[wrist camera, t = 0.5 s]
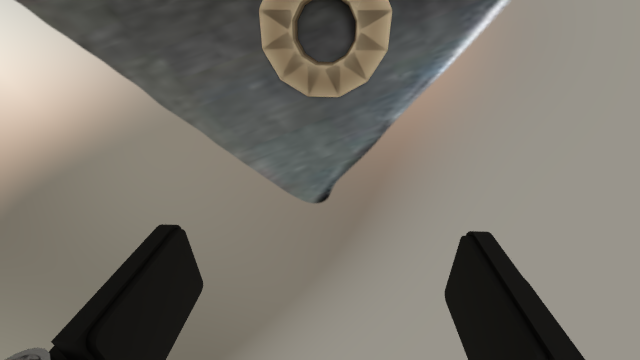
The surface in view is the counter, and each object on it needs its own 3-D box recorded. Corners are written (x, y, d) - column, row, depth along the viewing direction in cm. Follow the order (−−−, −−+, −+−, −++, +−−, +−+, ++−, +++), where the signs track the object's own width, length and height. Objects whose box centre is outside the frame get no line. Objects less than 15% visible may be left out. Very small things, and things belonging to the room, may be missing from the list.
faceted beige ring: (263, -43, 30) (253, -53, 26) (392, -44, 29) (399, -55, 25) (273, 89, 36) (266, 95, 33) (377, 91, 36) (382, 98, 32)
